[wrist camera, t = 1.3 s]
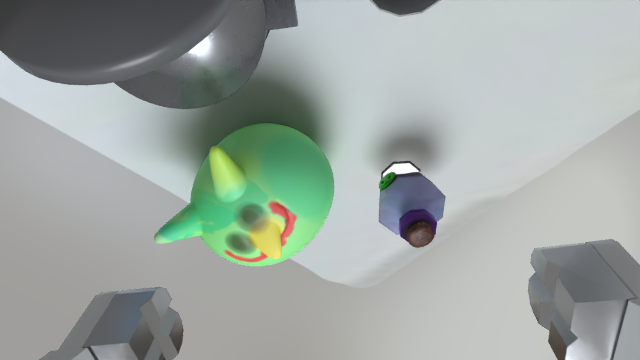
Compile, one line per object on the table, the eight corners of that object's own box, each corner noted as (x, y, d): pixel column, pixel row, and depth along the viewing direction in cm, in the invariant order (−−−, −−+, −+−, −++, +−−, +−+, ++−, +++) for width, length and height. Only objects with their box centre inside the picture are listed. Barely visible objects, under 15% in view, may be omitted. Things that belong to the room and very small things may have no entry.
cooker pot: (55, -86, 39) (-10, -79, 31) (281, -119, 38) (276, -120, 30) (124, 84, 48) (88, 124, 40) (306, 60, 48) (307, 97, 39)
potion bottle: (384, 142, 54) (403, 199, 44) (443, 160, 56) (474, 218, 46) (359, 194, 59) (371, 256, 49) (414, 208, 60) (436, 271, 51)
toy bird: (285, 231, 62) (281, 314, 50) (175, 184, 56) (141, 264, 44) (354, 139, 54) (370, 213, 42) (233, 73, 48) (211, 136, 36)
